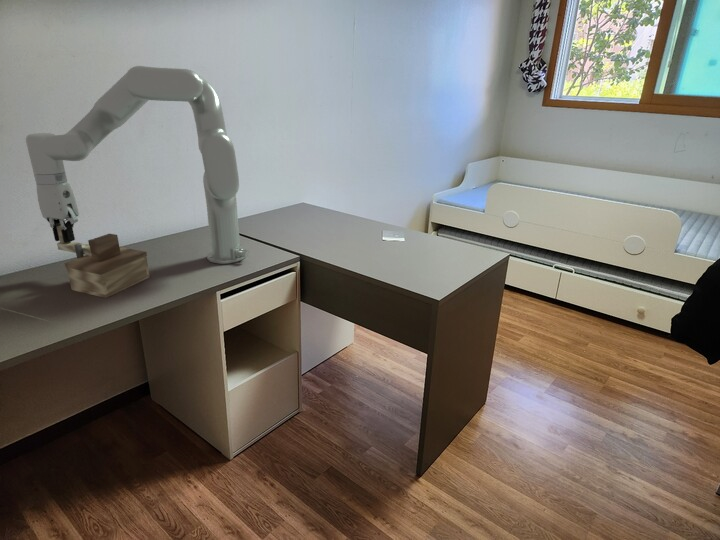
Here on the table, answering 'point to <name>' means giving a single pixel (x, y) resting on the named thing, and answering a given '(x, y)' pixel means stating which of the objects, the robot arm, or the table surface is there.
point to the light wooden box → (107, 277)
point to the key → (71, 244)
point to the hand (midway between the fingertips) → (65, 240)
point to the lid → (105, 256)
